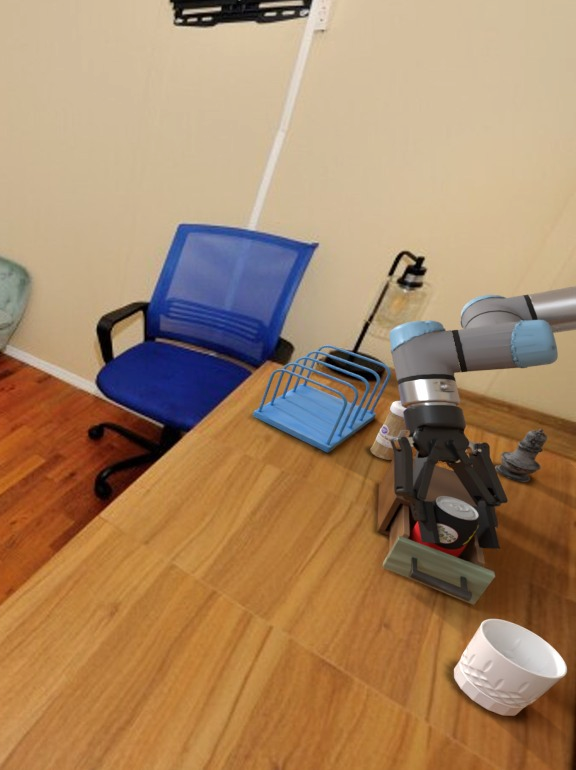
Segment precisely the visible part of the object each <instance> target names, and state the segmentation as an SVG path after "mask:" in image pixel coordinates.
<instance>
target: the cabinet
mask: <svg viewBox="0 0 576 770" xmlns="http://www.w3.org/2000/svg"><path fill="white" fill-rule="evenodd" d="M414 459H415V458H413V471H414V467H415V464H416V463H415V462H414ZM390 461H391V462H390V463H389V466H388V467H387V469H386V471H385V473H384V475H383V477H382V479H381V481H380V483H379V485H378V503H377V531H376V532H377V533H379V534H382V535H384V536H386V537H389V538H390V521H391V519H392V517H393V516H394V514H395V512H396V510H397V508H398V507H399V505H400V503H401V504H404V505H407V506H410V507H411V505H410V501H407V500H405V499H404V498H403V496H398V495H396V494H395V492H394V457H393V459H392V460H390ZM440 496H448V497H452V498H456V499H459V500H461V501H463V502H465V503H467V504H469V505H470V506H477V505H476V504H475V502H474V501H473V499H472V498H471V496H470V495H469V493H468V492H467V490H466V489H465V487H464V486H463V484H462V483H461V481H460V480H459V478H458V477H457V475H456V474H455V472H454V470H453V469H449V468H445V467H442V466H439V465H437V464H436V465H435V466H434V470H433V474H432V478H431V481H430V485H429V489H428V492H427V496H426V499H425V500H424V501H430V502H432V501H435V500H436V499H437V498H438V497H440ZM483 549H484V548H482V550H483Z"/></svg>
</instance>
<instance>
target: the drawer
mask: <svg viewBox="0 0 576 770" xmlns="http://www.w3.org/2000/svg"><path fill="white" fill-rule="evenodd" d="M416 523H417V520H414V518H413V516H412V510H411V507H410V506H407V505H404V504H401V503H400V505H399V507H398V508H397V510H396V512H395V514H394V516H393V517H392V519H391V521H390V537H389V547H388V548H389V551H388V553H387V554H386V557H385V558H384V560H383V561H382V568H383V569H385V570H387V571H390V572H392V573H395V574H397V575H400V576H402V577H404V578H407V579H409V580H412V581H414V582H416V583H419V584H421V585H424V586H426V587H429V588H431V589H434V590H436V591H439V592H440V593H443V594H446V595H447V596H450V597H453V598H456V599H458V600H461V601H463V602H465V603H468V604H469V605H473V606H475V605H476V604H477V602H478V601H479V600H480V598H481V597H482V595H483V594H484V592H485V591H486V590H487V588H488V587H489V586H490V584H492V582H493V581H494V579H495V578H496V574H495V571H494V570H491V569H489V568H486V567H484V566H485V565H486V561H485V556H484V552H483V551H484V550H483V549H482V548H479V544H478V539H477V535H476V531H475V533H474V534H473V536H472V537H471V539H470V540H469V542H468V543H467V545H466V546H465V548H464V549H463V551H462V552H461V554H460V555H459V557H458V558H457V557H454V556H452V555H449V554H446V553H444V552H441V551H438V550H436V549H433V548H431V547H428V546H425V545H423V544H420V543H417V542H415V541H412V540H409V539H408V538H409V536H410V533H411V531H412V530H413V528H414V526H415V525H416Z"/></svg>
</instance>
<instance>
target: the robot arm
mask: <svg viewBox="0 0 576 770" xmlns="http://www.w3.org/2000/svg"><path fill="white" fill-rule="evenodd" d="M459 324H460V327H461V329H452V330H449V329H448V330H446V328H445V327H444V325H443V323H441V322H439V321H436V320H414V321H410V322H405V323H401V324H399V325H396V326H395V327H393V328H392V329H391V330H390V332H389V342H390V353H391V357H392V362H393V363H392V364H393V367H394V372H395V376H396V381H397V388H398V392H399V400H400V401H401V405H402V406H403V407H405V408H407V409H405V410H404V411H403V414H404V419H405V424H406V428H407V429H408V430H409V431H408V436H406V437H399V438H393V439H391V440H390V442H391V445H392V448H393V450H394V492H395V494H396V495H398V496H403V498H404V499H405V500H407V501H410V505H411V510H412V516H413V518H414V520H417V521H418V525H419V530H420V535H421V541H422V542H426V543H439V544H440V538H439V533H438V528H437V523H436V518H435V513H434V508H433V503H432V502H430V501H424V500H425V499H426V496H427V492H428V489H429V485H430V481H431V478H432V474H433V470H434V466H435V465H436V466H437V464H439V462H441V463H445V464H446V466H447V467H449V468H450V469H451V470H452V471H454V472H455V474H456V475H457V477H458V478H459V480H460V481H461V483H462V484H463V486H464V487H465V489H466V490H467V492H468V493H469V495H470V496H471V498H472V499H473V501H474V502H475V504H476V505H477V506H472V507H473V508H474V509H475V510H476V511H477V512H478V514H479V517H478V518H477V520H478V523H479V525H478V528H477V530H476V535H477V539H478V544H479V548H483V549H492V550H501V546H500V542H499V538H498V534H497V529H496V528H498V527H499V521H498V517H497V512H496V507H501V505H502V504H507V503H508V501H509V500H508V497H507V494H506V491H505V490H504V487H503V485H502V482H501V480H500V477H499V475H498V472H497V471H496V469H495V465H494V463H493V461H492V458H491V449H490V448H491V447H490V445H489V443H488V442H475V441H471V440H469V438H468V437H467V436H466V435H465V429H466V427H467V424H466V420H465V415H464V410H463V408H461V407H460V406H459V405H461V399H460V395H459V394H460V393H459V390H458V385H457V381H456V377H455V374H457V373H468V372H480V371H481V372H482V371H495V370H507V369H508V370H509V369H527V368H531V367H538V366H547V365H551V364H553V363H556V361H557V360H558V358H559V357H558V356H559V355H558V354H559V353H558V347H557V341H556V338H555V335H554V334H556V333H564V332H571V331H576V285H572V286H568V287H563V288H557V289H551V290H546V291H539V292H534V293H529V294H523V295H516V296H511V297H505V296H503V295H499V294H498V295H497V294H485V295H480V296H477V297H474V298H473V299H471V300H469V301H468V302H467V303H465V305H464V306H463V308H461V312H460V322H459ZM413 448H414V449H415V450H416V451H415V452H416V453H415V455H414V454H413V453H414V451H413ZM414 456H415V457H414ZM413 459H414V462H415V463H416V464H415V467H414V471H413Z"/></svg>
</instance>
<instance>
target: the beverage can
mask: <svg viewBox="0 0 576 770" xmlns="http://www.w3.org/2000/svg"><path fill="white" fill-rule="evenodd" d="M432 503H433V508H434V513H435V518H436V523H437V528H438V533H439V538H440V544H439V543H426V542H422V541H421V535H420V530H419V525H418V521H417V523H416V525H415V526H414V528H413V530H412V531H411V533H410V536H409V538H408V539H409V540H412V541H415V542H417V543H420V544H423V545H425V546H428V547H431V548H433V549H436V550H438V551H441V552H444V553H446V554H449V555H452V556H454V557H457V558H458V557H459V555H460V554H461V552H462V551H463V549H464V548H465V546H466V545H467V543H468V542H469V540H470V539H471V537H472V536H473V534H474V533H475V531H476V530H477V528H478V525H479V523H478V520H477V518H478V517H479V514H478V512H477V511H476V510H475V509H474V508H473V507H472V506H470V505H469V504H467V503H465V502H463V501H461V500H459V499H456V498H452V497H448V496H440V497H438V498H437V499H436V500H435V501H432Z"/></svg>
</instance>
